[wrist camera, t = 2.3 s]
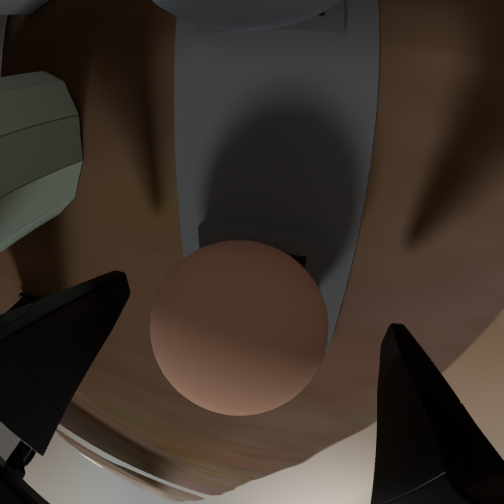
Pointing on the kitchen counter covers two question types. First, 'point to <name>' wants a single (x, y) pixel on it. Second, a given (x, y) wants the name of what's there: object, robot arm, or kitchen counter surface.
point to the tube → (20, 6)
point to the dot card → (2, 36)
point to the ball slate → (245, 12)
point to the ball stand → (279, 137)
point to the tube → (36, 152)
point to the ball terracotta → (239, 327)
